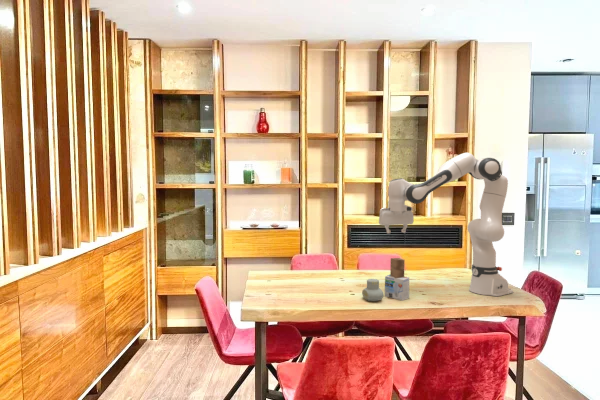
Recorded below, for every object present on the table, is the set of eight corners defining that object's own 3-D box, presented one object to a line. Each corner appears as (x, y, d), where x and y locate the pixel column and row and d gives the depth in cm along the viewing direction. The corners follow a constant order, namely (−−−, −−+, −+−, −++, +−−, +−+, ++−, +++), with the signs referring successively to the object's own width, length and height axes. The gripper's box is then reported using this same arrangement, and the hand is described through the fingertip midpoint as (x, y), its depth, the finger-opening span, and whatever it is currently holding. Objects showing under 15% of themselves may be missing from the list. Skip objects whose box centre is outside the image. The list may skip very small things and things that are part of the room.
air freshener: (360, 297, 192) (360, 278, 191) (375, 296, 194) (375, 276, 193) (370, 303, 181) (370, 283, 181) (385, 302, 183) (385, 282, 183)
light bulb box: (384, 296, 193) (384, 275, 193) (390, 293, 198) (391, 273, 198) (403, 300, 186) (403, 279, 185) (409, 298, 191) (409, 277, 190)
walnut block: (398, 275, 195) (399, 257, 194) (404, 277, 190) (404, 259, 189) (390, 275, 193) (390, 258, 193) (395, 278, 188) (395, 260, 188)
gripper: (382, 208, 199) (382, 234, 200) (415, 207, 206) (415, 232, 206) (376, 207, 205) (376, 232, 206) (408, 207, 212) (408, 231, 212)
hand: (396, 232), depth 206 cm, fingers open, 8 cm apart
